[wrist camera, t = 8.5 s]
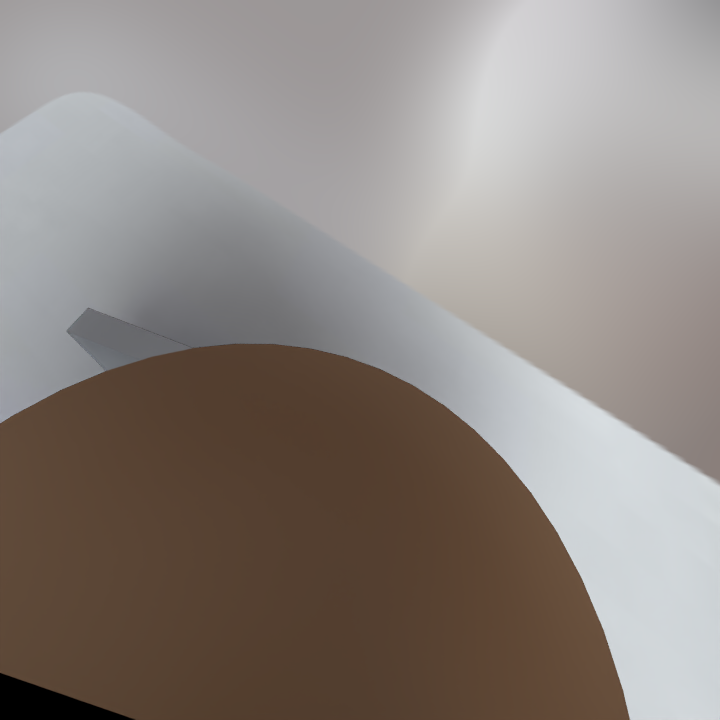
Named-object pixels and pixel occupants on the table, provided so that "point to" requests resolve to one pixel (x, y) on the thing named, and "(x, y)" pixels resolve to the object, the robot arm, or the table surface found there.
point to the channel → (118, 340)
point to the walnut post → (280, 554)
